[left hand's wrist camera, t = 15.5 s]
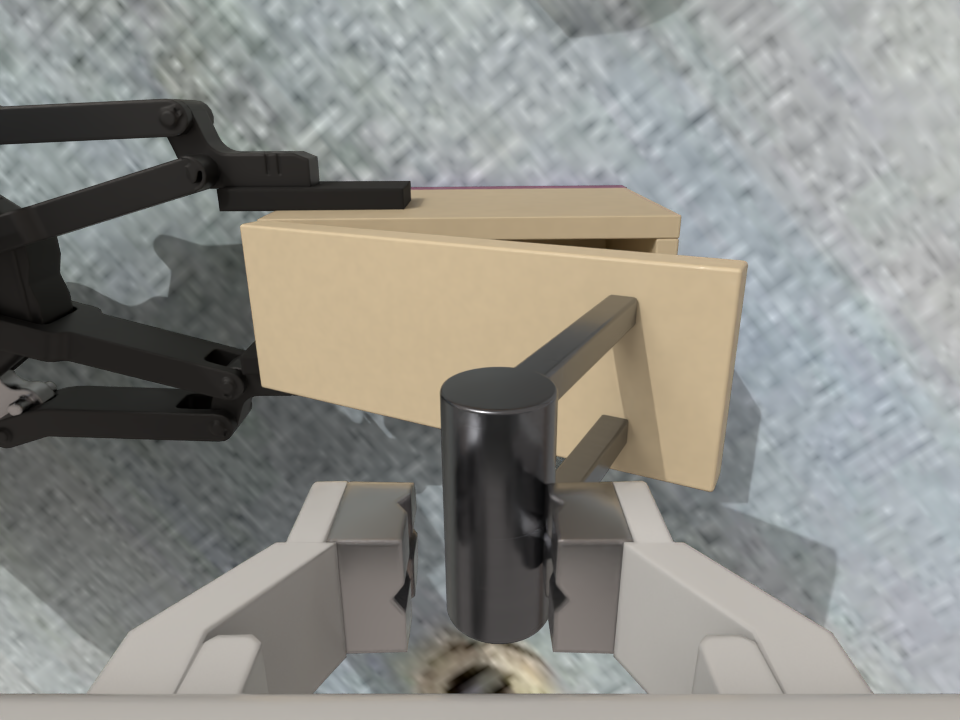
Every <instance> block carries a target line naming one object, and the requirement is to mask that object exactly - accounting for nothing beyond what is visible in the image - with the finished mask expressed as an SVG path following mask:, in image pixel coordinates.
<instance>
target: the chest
mask: <svg viewBox="0 0 960 720" xmlns="http://www.w3.org/2000/svg"><path fill="white" fill-rule="evenodd" d="M262 220H265V221H277V222H289V223H301V224H313V225H325V226H337V227H349V228H361V229H372V230H384V231H396V232H408V233H420V234H432V235H444V236H456V237H468V238H480V239H491V240H503V241H515V242H527V243H539V244H551V245H563V246H575V247H587V248H599V249H610V250H622V251H634V252H646V253H658V254H670V255H677V252H678V242H679V240H678V238H679V235H680V224H681V215H679V214H677V213H675V212H673V211H671V210H669V209H667V208H665V207H663V206H661V205H659V204H657V203H655V202H653V201H651V200H649V199H647V198H645V197H643V196H641V195H639V194H637V193H635V192H633V191H631V190H629V189H627V188H626V187H624V186H622V185H604V186H498V187H411V201H410V202H409V204H408V205H407V206H406V208H405V209H404V210H305V211H274V212H272V213H270V214H268V215H266V216H264V217H262V218H260V219H257V221H262Z"/></svg>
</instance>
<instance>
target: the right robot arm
mask: <svg viewBox="0 0 960 720" xmlns="http://www.w3.org/2000/svg"><path fill="white" fill-rule="evenodd" d="M213 123H214V116H213V114H212V111H211V109H210V108H209V107H208V106H207V105H206V104H205V103H203V102H201V101H196V100H181V99H152V100H131V101H110V102H89V103H67V104H46V105H25V106H4V107H3V106H0V145H2V144H23V143H45V142H66V141H88V140H109V139H131V138H152V137H167V138H168V140H169V142H170V144H171V146H172V148H173V150H174V152H175V154H176V156H177V157H178V159H176V160H173V161H170V162H167V163H164V164H160V165H157V166H154V167H151V168H148V169H145V170H142V171H138V172H135V173H132V174H129V175H126V176H123V177H120V178H116V179H113V180H110V181H107V182H104V183H101V184H98V185H94V186H91V187H88V188H85V189H82V190H79V191H76V192H72V193H69V194H66V195H63V196H60V197H57V198H54V199H50V200H47V201H44V202H41V203H38V204H35V205H32V206H28V207H24V208H21V207H19V206H18V205H16V204H15V203H13V202H11V201H10V200H8V199H6V198H5V197H3V196H2V195H0V447H3V448H12V447H15V446H18V445H21V444H24V443H28V442H31V441H34V440H37V439H40V438H43V437H47V436H58V437H90V438H121V439H153V440H185V441H217V442H220V441H225V440H227V439H229V438H230V437H231V436H232V434H233V433H234V432H235V430H236V429H237V428H238V427H239V425H240V424H241V423H242V421H243V420H244V419H245V417H246V416H247V415H248V413H249V412H250V410H251V409H252V402H251V400H252V397H254V396H291V395H294V394H290V393H286V392H281V391H277V390H273V389H269V388H264V387H262V385H261V378H260V371H259V364H258V356H257V349H256V341H255V342H254V343H253V344H252V345H251V346H250V347H249V348H248V349H247V350H246V351H245V350H241V349H238V348H234V347H230V346H226V345H222V344H218V343H214V342H210V341H206V340H202V339H199V338H195V337H191V336H187V335H183V334H179V333H175V332H171V331H167V330H164V329H160V328H156V327H152V326H148V325H144V324H140V323H136V322H132V321H128V320H125V319H121V318H117V317H113V316H109V315H105V314H103V313H102V312H101V310H100V309H99V308H96V307H93V306H90V305H86V304H82V303H78V302H74V301H71V296H70V292H69V290H68V288H67V286H66V284H65V282H64V280H63V278H62V276H61V274H60V259H61V252H60V248H59V244H58V239H57V236H60V235H63V234H66V233H70V232H73V231H76V230H79V229H82V228H85V227H88V226H91V225H95V224H98V223H101V222H104V221H107V220H111V219H114V218H117V217H120V216H123V215H127V214H130V213H133V212H136V211H139V210H143V209H146V208H149V207H152V206H155V205H159V204H162V203H165V202H168V201H172V200H175V199H178V198H181V197H184V196H188V195H191V194H194V193H197V192H200V191H204V190H207V189H217V194H218V202H219V209H220V211H305V210H404V209H405V208H406V206H407V205H408V204H409V202H410V201H411V183H410V181H319V170H318V158H317V156H314V155H312V154H309V153H307V152H304V151H235V150H232V149H230V148H229V147H227V146H226V145H225V144H224V143H223V142H222V141H221V139H220V138H219V136H218V134H217V132H216V130H215V127H214V125H213ZM28 358H33V359H37V360H41V361H46V362H58V361H71V362H75V363H79V364H83V365H87V366H91V367H95V368H99V369H103V370H107V371H111V372H115V373H119V374H123V375H127V376H132V377H136V378H140V379H144V380H148V381H152V382H156V383H160V384H164V385H168V386H172V387H176V388H180V389H167V388H136V387H106V386H75V387H67V388H63V389H59V390H57V386H56V385H55V383H53V382H51V381H47V382H41V381H27V380H24V379H22V378H20V377H19V376H18V375H17V374H16V373H15V372H14V370H15V369H16V368H17V367H18V366H19V365H21V364H22V363H23V362H24V361H25V360H27V359H28ZM294 396H298V395H294Z"/></svg>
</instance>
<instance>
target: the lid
mask: <svg viewBox="0 0 960 720" xmlns="http://www.w3.org/2000/svg"><path fill="white" fill-rule="evenodd" d="M240 230H241V237H242V244H243V252H244V259H245V267H246V274H247V282H248V289H249V297H250V304H251V311H252V319H253V326H254V334H255V341H256V349H257V356H258V364H259V371H260V378H261V385H262V387H264V388H269V389H273V390H277V391H281V392H286V393H290V394H294V395H298V396H303V397H307V398H311V399H316V400H320V401H324V402H328V403H333V404H337V405H341V406H345V407H350V408H354V409H358V410H362V411H367V412H371V413H375V414H380V415H384V416H388V417H392V418H397V419H401V420H405V421H409V422H414V423H418V424H422V425H426V426H431V427H435V428H439V429H441V448H442V479H443V509H444V540H445V570H446V600H447V612H448V615H449V617H450V619H451V621H452V623H453V624H454V625H455V627H456V628H457V629H458V630H459V631H461V632H462V633H463V634H465V635H467V636H468V637H470V638H473V639H475V640H478V641H481V642H485V643H492V644H507V643H514V642H518V641H521V640H524V639H526V638H529V637H530V636H532V635H534V634H535V633H537V632H538V631H539V630H540V629H541V628H542V627H543V626H544V624H545V623H546V621H547V620H548V603H549V599H548V598H547V597H546V596H545V591H544V583H543V571H542V559H543V537H544V535H545V533H546V530H547V528H546V521H545V514H544V504H545V484H547V483H579V482H600V481H601V480H602V479H603V477H604V476H605V474H606V473H607V471H608V470H609V468H610V469H614V470H618V471H623V472H627V473H631V474H636V475H640V476H644V477H648V478H653V479H657V480H661V481H665V482H670V483H674V484H678V485H683V486H687V487H691V488H695V489H700V490H704V491H708V492H712V491H713V490H714V488H715V486H716V483H717V480H718V478H719V475H720V470H721V462H722V455H723V447H724V440H725V433H726V425H727V418H728V410H729V403H730V395H731V388H732V380H733V373H734V365H735V358H736V350H737V343H738V335H739V328H740V320H741V313H742V305H743V298H744V290H745V283H746V276H747V268H748V264H747V262H746V261H741V260H729V259H718V258H706V257H694V256H682V255H670V254H658V253H646V252H634V251H622V250H610V249H599V248H587V247H575V246H563V245H551V244H539V243H527V242H515V241H503V240H491V239H480V238H468V237H456V236H444V235H432V234H420V233H408V232H396V231H384V230H372V229H361V228H349V227H337V226H325V225H313V224H301V223H289V222H277V221H265V220H262V221H256V222H251V223H245V224H242V225H241V226H240ZM556 456H559V457H563V458H566V459H565V460H564V462H563V463H562V464H561V465H560V466H559V468H558V469H557V470H556Z"/></svg>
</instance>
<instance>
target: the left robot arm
mask: <svg viewBox="0 0 960 720" xmlns="http://www.w3.org/2000/svg"><path fill="white" fill-rule="evenodd" d="M415 514H416V493H415V485H414V483H405V482H353V481H350V482H348V481H318V482H315V483H314V484H313V485H312V486H311V489H310V491H309V493H308V495H307V497H306V499H305V502H304V504H303V506H302V508H301V510H300V512H299V515H298V517H297V519H296V521H295V523H294V526H293V528H292V530H291V532H290V534H289V536H288V539H287V541H286V542H276V543H274V544H273V545H271V546H269V547H268V548H266V549H264V550H263V551H261V552H259V553H258V554H256V555H254V556H253V557H251V558H250V559H248V560H246V561H245V562H243V563H241V564H240V565H238V566H236V567H235V568H233V569H231V570H230V571H228V572H226V573H225V574H223V575H222V576H220V577H218V578H217V579H215V580H213V581H212V582H210V583H208V584H207V585H205V586H203V587H202V588H200V589H198V590H197V591H195V592H193V593H192V594H190V595H189V596H187V597H185V598H184V599H182V600H180V601H179V602H177V603H175V604H174V605H172V606H170V607H169V608H167V609H165V610H164V611H162V612H161V613H159V614H157V615H156V616H154V617H152V618H151V619H149V620H147V621H146V622H144V623H142V624H141V625H139V626H137V627H136V628H134V629H133V630H131V631H129V632H128V634H127V635H126V636H125V638H124V639H123V641H122V642H121V644H120V645H119V647H118V648H117V650H116V651H115V653H114V654H113V655H112V657H111V658H110V660H109V661H108V663H107V664H106V666H105V667H104V669H103V670H102V672H101V673H100V674H99V676H98V677H97V679H96V680H95V682H94V683H93V685H92V686H91V688H90V689H89V690H88V692H87V693H86V694H0V720H960V694H874V693H873V692H872V690H871V689H870V688H869V686H868V685H867V683H866V682H865V680H864V679H863V677H862V676H861V674H860V673H859V671H858V670H857V668H856V667H855V665H854V664H853V662H852V661H851V660H850V658H849V657H848V655H847V654H846V652H845V651H844V649H843V648H842V646H841V645H840V643H839V642H838V640H837V639H836V637H835V636H834V635H833V633H832V632H830V631H829V630H827V629H825V628H824V627H822V626H820V625H819V624H817V623H815V622H814V621H812V620H810V619H809V618H807V617H806V616H804V615H802V614H801V613H799V612H797V611H796V610H794V609H792V608H791V607H789V606H787V605H786V604H784V603H783V602H781V601H779V600H778V599H776V598H774V597H773V596H771V595H769V594H768V593H766V592H765V591H763V590H761V589H760V588H758V587H756V586H755V585H753V584H751V583H750V582H748V581H746V580H745V579H743V578H742V577H740V576H738V575H737V574H735V573H733V572H732V571H730V570H728V569H727V568H725V567H723V566H722V565H720V564H719V563H717V562H715V561H714V560H712V559H710V558H709V557H707V556H705V555H704V554H702V553H701V552H699V551H697V550H696V549H694V548H692V547H691V546H689V545H687V544H686V543H684V542H674V541H673V539H672V537H671V535H670V532H669V530H668V528H667V526H666V524H665V522H664V519H663V517H662V515H661V513H660V511H659V509H658V507H657V504H656V502H655V500H654V498H653V496H652V494H651V491H650V489H649V487H648V485H647V483H645V482H644V481H622V482H579V483H547V484H545V504H544V514H545V521H546V528H547V530H546V533H545V535H544V537H543V559H542V571H543V583H544V591H545V596H546V597H547V598H548V599H549V603H548V621H549V628H550V635H551V641H552V648H553V652H574V653H610V654H614V657H615V658H616V660H617V661H618V662H619V663H620V664H621V665H622V666H623V667H624V668H625V669H626V671H627V672H628V673H629V674H630V675H631V676H632V677H633V678H634V679H635V680H636V681H637V683H638V684H639V685H640V686H641V687H642V688H643V689H644V690H645V691H646V692H647V694H313V693H314V692H315V691H316V690H317V688H318V687H319V686H320V685H321V684H322V683H323V682H324V681H325V680H326V679H327V678H328V676H329V675H330V674H331V673H332V672H333V671H334V670H335V669H336V668H337V667H338V666H339V664H340V663H341V662H342V661H343V660H344V659H345V658H346V654H349V653H384V652H407V649H408V642H409V635H410V628H411V621H412V604H411V599H412V598H413V597H414V596H415V591H416V582H417V567H418V538H417V532H416V531H415V530H414V529H413V528H414V521H415Z"/></svg>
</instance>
